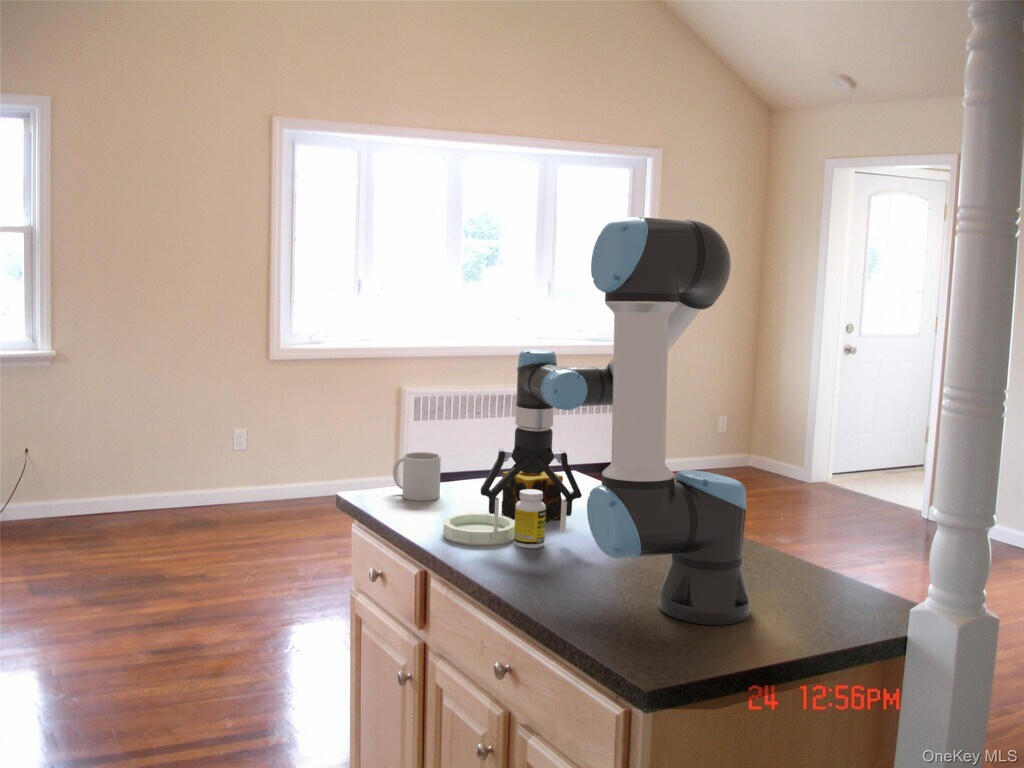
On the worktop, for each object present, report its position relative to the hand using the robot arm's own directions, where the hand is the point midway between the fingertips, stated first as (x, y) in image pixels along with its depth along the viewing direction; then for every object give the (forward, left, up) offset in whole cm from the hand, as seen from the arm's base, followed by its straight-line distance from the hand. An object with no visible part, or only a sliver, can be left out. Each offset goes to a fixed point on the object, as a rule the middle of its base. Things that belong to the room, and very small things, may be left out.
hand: (529, 530), depth 204 cm
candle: (+22, -2, -3) cm, 22 cm away
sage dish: (+6, +10, -3) cm, 12 cm away
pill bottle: (0, 0, -3) cm, 3 cm away
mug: (+39, +24, -3) cm, 46 cm away
